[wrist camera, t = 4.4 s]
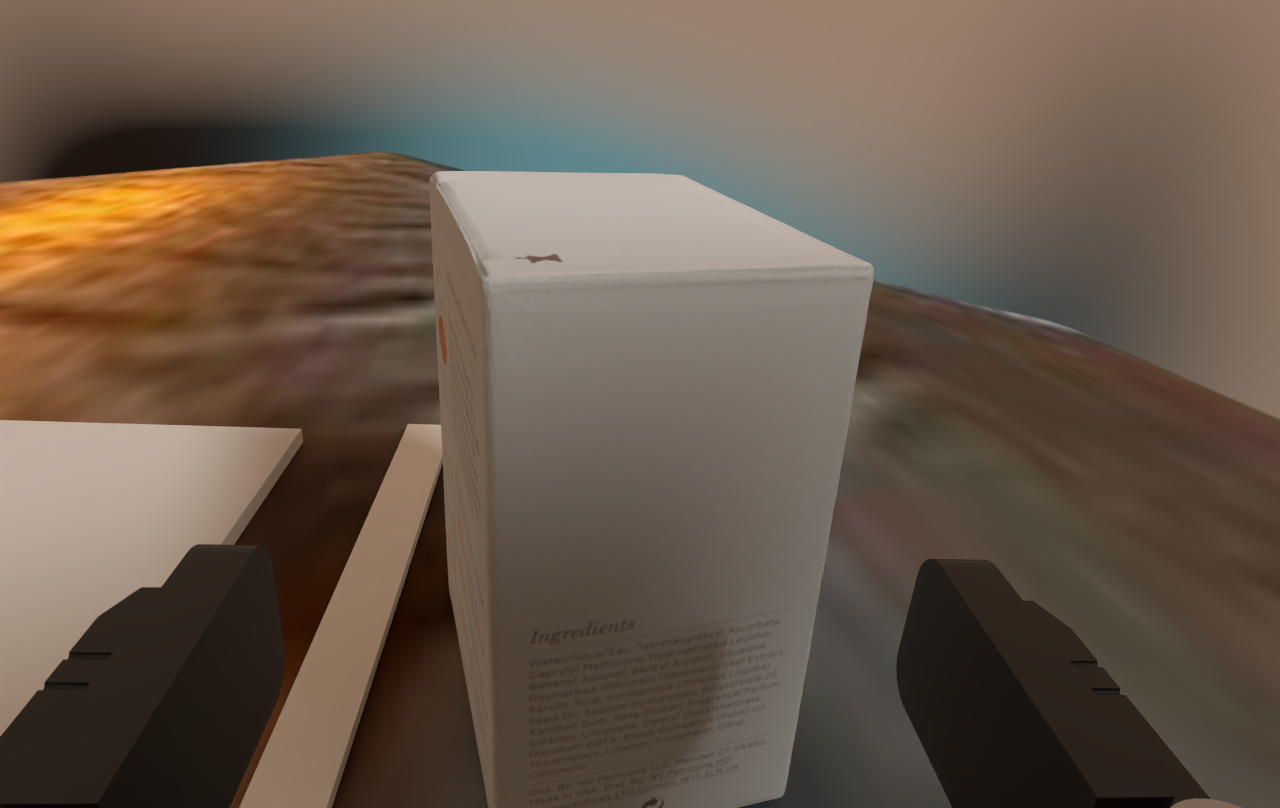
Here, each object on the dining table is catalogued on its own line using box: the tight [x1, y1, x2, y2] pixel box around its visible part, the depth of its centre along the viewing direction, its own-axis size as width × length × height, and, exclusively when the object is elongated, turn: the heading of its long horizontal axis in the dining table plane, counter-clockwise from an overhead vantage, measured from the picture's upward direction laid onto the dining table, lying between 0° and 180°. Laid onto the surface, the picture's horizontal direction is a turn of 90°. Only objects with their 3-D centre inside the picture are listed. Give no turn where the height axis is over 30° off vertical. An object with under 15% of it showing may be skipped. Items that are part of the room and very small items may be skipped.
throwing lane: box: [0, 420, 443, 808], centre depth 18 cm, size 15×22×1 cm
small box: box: [429, 171, 874, 808], centre depth 16 cm, size 8×6×10 cm
